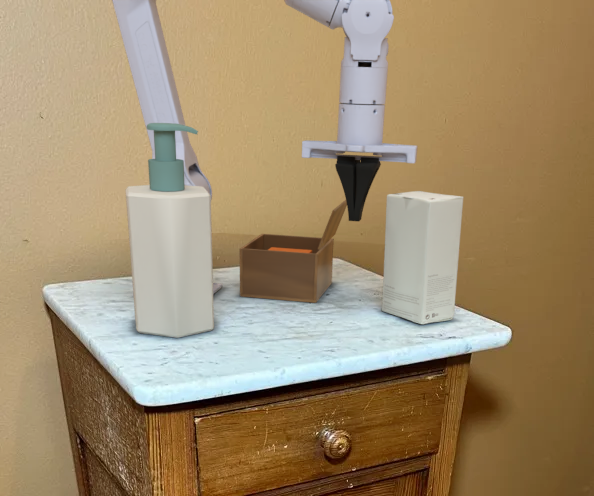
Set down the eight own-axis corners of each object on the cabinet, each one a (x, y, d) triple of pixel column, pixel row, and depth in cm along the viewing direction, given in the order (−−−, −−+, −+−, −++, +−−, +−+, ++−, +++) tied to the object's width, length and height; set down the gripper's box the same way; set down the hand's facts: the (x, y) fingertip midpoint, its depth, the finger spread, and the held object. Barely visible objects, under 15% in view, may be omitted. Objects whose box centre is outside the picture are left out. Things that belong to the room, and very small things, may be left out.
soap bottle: (216, 337, 90) (211, 127, 80) (137, 339, 89) (121, 125, 78) (207, 313, 99) (201, 121, 88) (134, 315, 97) (119, 119, 87)
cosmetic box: (454, 320, 99) (469, 196, 92) (418, 326, 96) (432, 199, 89) (411, 305, 105) (422, 188, 98) (376, 310, 102) (386, 190, 95)
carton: (261, 277, 117) (261, 233, 114) (331, 283, 115) (333, 238, 112) (239, 296, 107) (239, 248, 104) (316, 303, 105) (318, 254, 102)
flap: (347, 198, 109) (349, 198, 109) (333, 233, 112) (335, 234, 112) (332, 210, 99) (334, 211, 99) (317, 248, 102) (319, 249, 102)
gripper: (297, 102, 93) (294, 221, 100) (417, 107, 91) (406, 228, 97) (309, 101, 99) (306, 213, 106) (422, 105, 97) (412, 219, 103)
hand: (354, 220), depth 102 cm, fingers closed
